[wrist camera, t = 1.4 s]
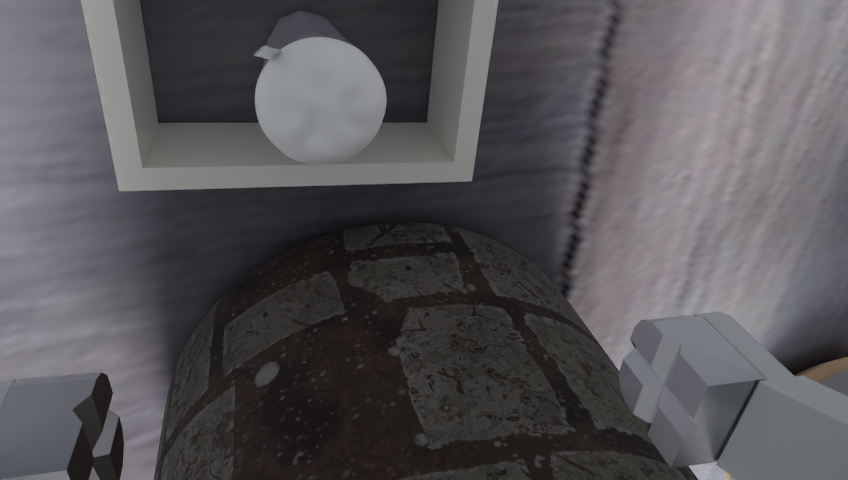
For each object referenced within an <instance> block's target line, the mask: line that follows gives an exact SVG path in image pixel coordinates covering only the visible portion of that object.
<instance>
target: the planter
mask: <svg viewBox="0 0 848 480" xmlns="http://www.w3.org/2000/svg"><path fill="white" fill-rule="evenodd" d="M154 480H698V479H697V477H696V476H695V475H694V473H693V472H692V470H691V469H690V468H689V466H682V467H675V468H670V466H669V465H668V464H667V462H666V461H665V459H664V458H663V456H662V455H661V454H660V452H659V451H658V449H657V448H656V446H655V445H654V443H653V442H652V441H651V439H650V438H649V436H648V422H646V421H644V420H643V419H641V418H639V417H638V416H636V415H634V414H633V413H632V411H631V410H630V408H629V407H628V405H627V404H626V402H625V400H624V398H623V395H622V393H621V390H620V380H619V370H618V369H617V368H616V366H615V365H614V364H613V362H612V361H611V359H610V358H609V357H608V355H607V354H606V353H605V351H604V350H603V349H602V347H601V346H600V344H599V343H598V342H597V340H596V339H595V338H594V336H593V335H592V333H591V332H590V331H589V329H588V328H587V327H586V325H585V324H584V322H583V321H582V320H581V318H580V317H579V316H578V314H577V313H576V312H575V310H574V309H573V307H572V306H571V305H570V303H569V302H568V301H567V299H566V298H565V297H564V295H563V294H562V293H561V292H560V290H559V289H558V288H557V287H556V286H555V284H554V283H553V282H552V281H551V280H550V279H549V278H548V277H547V276H546V275H545V274H544V273H543V272H542V271H541V270H540V269H539V268H538V267H537V266H536V265H534V264H533V263H532V262H531V261H530V260H528V259H527V258H526V257H524V256H523V255H521V254H520V253H518V252H517V251H515V250H514V249H512V248H510V247H508V246H507V245H505V244H503V243H501V242H499V241H497V240H494V239H492V238H490V237H487V236H485V235H482V234H479V233H476V232H473V231H469V230H466V229H462V228H458V227H453V226H447V225H441V224H433V223H419V222H396V223H382V224H374V225H367V226H361V227H356V228H351V229H347V230H343V231H339V232H335V233H332V234H328V235H325V236H322V237H319V238H316V239H314V240H311V241H308V242H306V243H303V244H301V245H299V246H296V247H294V248H292V249H290V250H288V251H286V252H284V253H282V254H280V255H278V256H276V257H275V258H273V259H271V260H269V261H268V262H266V263H265V264H263V265H261V266H260V267H258V268H257V269H255V270H254V271H252V272H251V273H250V274H248V275H247V276H246V277H244V278H243V279H242V280H241V281H239V282H238V283H237V284H236V285H234V286H233V287H232V288H231V289H230V290H229V291H228V292H227V293H226V294H225V295H224V296H223V297H221V299H220V300H219V301H218V302H217V303H216V304H215V305H214V306H213V307H212V308H211V309H210V311H209V312H208V313H207V314H206V315H205V317H204V318H203V319H202V321H201V322H200V323H199V325H198V326H197V328H196V329H195V331H194V332H193V334H192V335H191V337H190V339H189V341H188V342H187V344H186V346H185V348H184V350H183V352H182V354H181V356H180V359H179V361H178V363H177V366H176V369H175V372H174V375H173V378H172V381H171V385H170V388H169V392H168V397H167V402H166V407H165V412H164V418H163V425H162V431H161V437H160V444H159V450H158V456H157V463H156V469H155V475H154Z"/></svg>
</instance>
